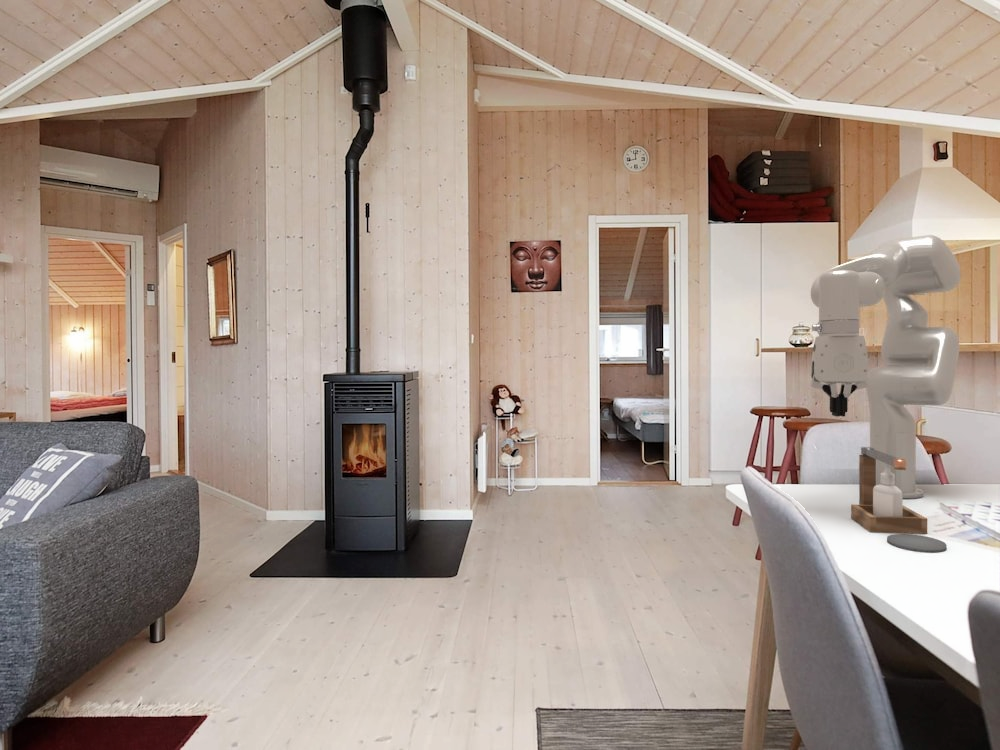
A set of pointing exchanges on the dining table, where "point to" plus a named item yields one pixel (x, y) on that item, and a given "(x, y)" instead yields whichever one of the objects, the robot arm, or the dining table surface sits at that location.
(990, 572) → the dining table surface
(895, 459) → the ball-tipped grey rod
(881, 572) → the dining table surface
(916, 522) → the wooden frame with post
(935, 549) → the mat
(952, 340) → the robot arm
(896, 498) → the eye dropper bottle
